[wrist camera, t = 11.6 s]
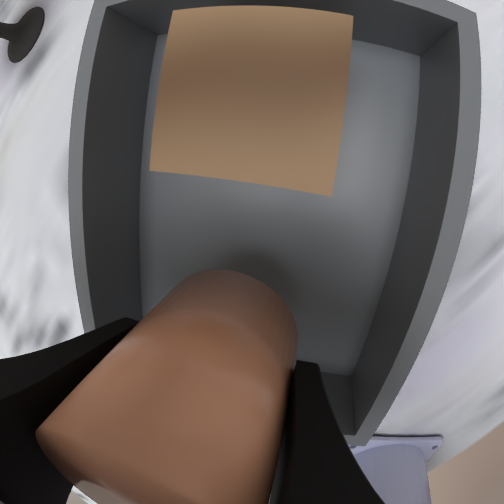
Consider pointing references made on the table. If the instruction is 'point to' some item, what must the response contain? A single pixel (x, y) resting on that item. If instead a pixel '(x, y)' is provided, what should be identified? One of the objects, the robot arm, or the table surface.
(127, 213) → the tote
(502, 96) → the table surface
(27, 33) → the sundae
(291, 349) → the terracotta cylinder
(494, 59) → the table surface
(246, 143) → the walnut cube
